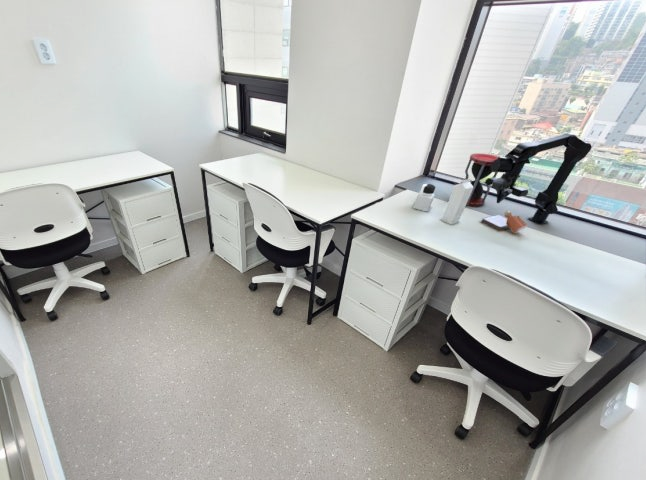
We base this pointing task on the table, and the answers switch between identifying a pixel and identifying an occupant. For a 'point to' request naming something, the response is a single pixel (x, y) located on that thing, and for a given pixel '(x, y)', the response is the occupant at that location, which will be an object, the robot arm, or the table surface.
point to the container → (425, 197)
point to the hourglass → (479, 176)
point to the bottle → (514, 222)
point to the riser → (496, 222)
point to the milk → (457, 202)
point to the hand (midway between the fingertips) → (497, 202)
